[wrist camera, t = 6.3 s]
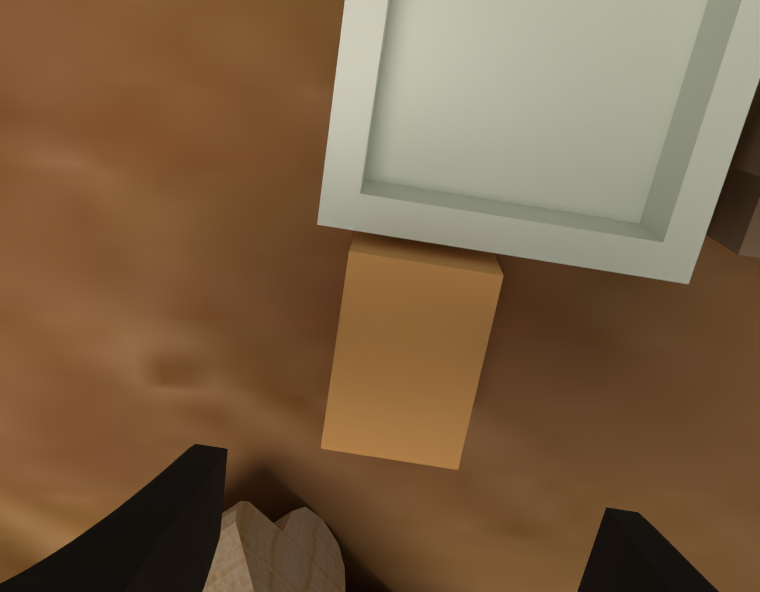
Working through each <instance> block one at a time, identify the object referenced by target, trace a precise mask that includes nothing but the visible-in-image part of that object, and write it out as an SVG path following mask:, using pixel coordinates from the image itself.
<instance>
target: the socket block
mask: <svg viewBox="0 0 760 592" xmlns="http://www.w3.org/2000/svg"><path fill="white" fill-rule="evenodd" d="M706 234H707V235H708V236H710V237H711V238H713V239H714V240H716V241H718V242H719V243H721V244H722V245H724V246H725V247H727V248H729V249H730V250H732V251H733V252H735V253H736V254H738V255H743V256H749V257H755V258H760V79H759V82H758V85H757V88H756V91H755V94H754V97H753V100H752V102H751V105H750V108H749V111H748V114H747V117H746V120H745V123H744V126H743V128H742V131H741V134H740V137H739V140H738V143H737V146H736V149H735V152H734V154H733V157H732V160H731V163H730V166H729V169H728V172H727V175H726V178H725V180H724V183H723V186H722V189H721V192H720V195H719V198H718V201H717V204H716V206H715V209H714V212H713V215H712V218H711V221H710V224H709V227H708V230H707V232H706Z"/></svg>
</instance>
